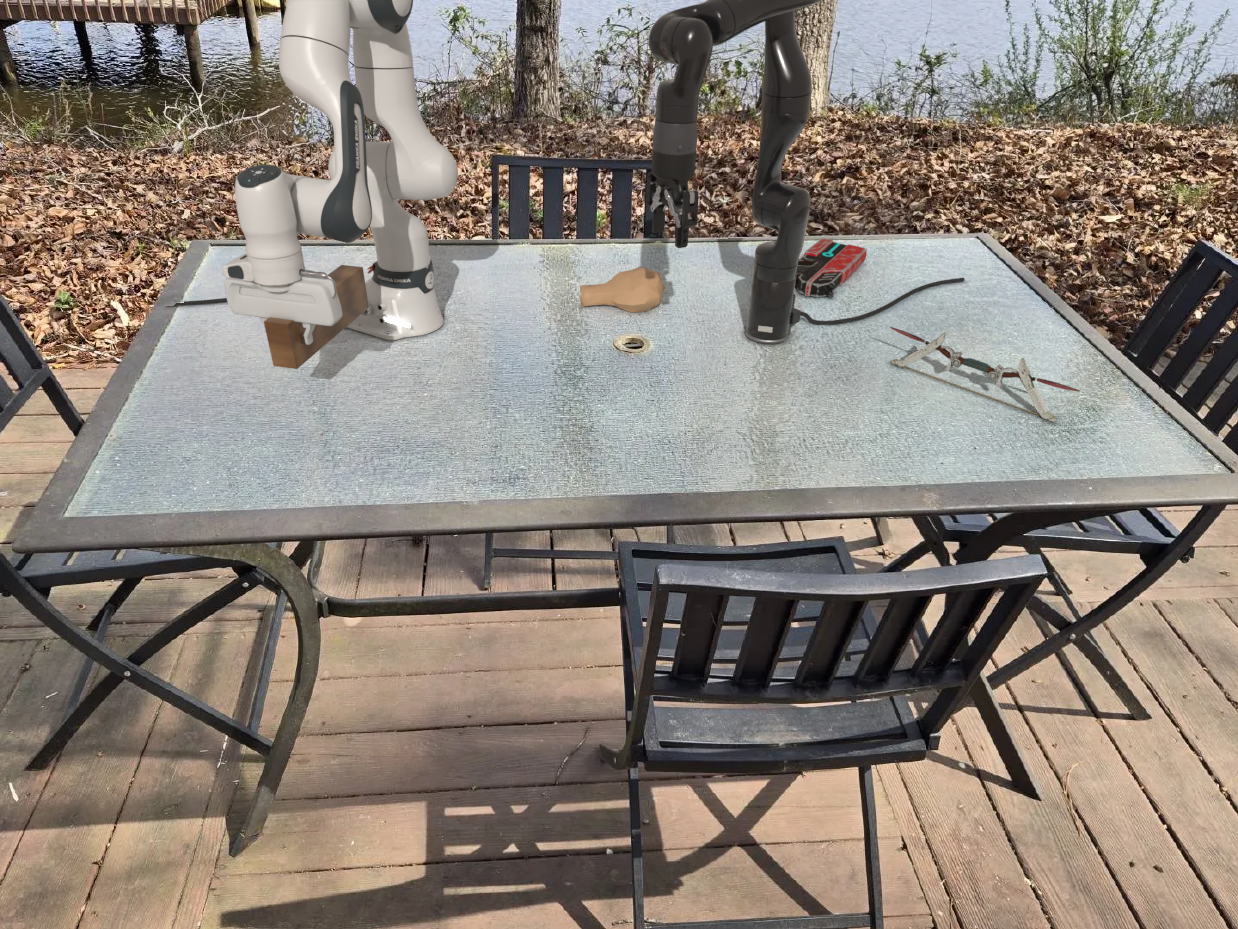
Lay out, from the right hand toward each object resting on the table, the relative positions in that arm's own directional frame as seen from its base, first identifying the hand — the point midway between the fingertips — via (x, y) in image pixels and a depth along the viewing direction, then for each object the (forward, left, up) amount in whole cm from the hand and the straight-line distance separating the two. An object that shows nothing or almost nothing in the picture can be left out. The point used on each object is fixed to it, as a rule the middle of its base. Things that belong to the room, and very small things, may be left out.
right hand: (669, 239), depth 158 cm
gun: (-72, -18, -30) cm, 80 cm away
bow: (-46, +41, -30) cm, 69 cm away
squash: (-20, -33, -30) cm, 49 cm away
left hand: (+58, -36, -16) cm, 70 cm away
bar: (+49, -42, -20) cm, 68 cm away
